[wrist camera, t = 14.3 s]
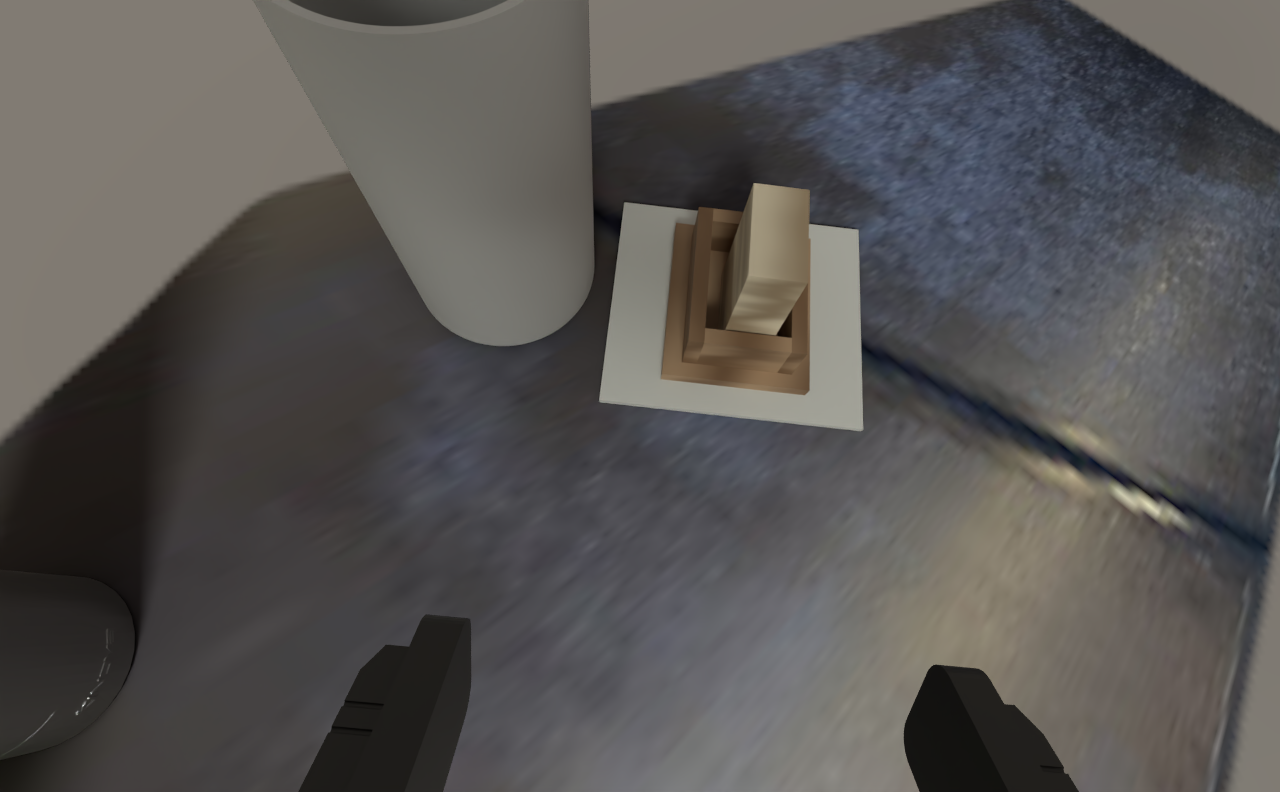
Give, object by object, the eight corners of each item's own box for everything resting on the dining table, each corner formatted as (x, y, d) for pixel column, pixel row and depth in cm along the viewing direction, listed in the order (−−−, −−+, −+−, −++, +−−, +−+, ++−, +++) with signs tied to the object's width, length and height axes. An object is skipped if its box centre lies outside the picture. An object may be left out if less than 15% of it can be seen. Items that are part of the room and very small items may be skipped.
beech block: (716, 350, 43) (748, 275, 33) (721, 274, 45) (753, 182, 35) (762, 356, 43) (807, 283, 33) (766, 279, 45) (809, 190, 35)
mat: (599, 402, 42) (599, 400, 42) (624, 205, 48) (624, 202, 47) (860, 431, 43) (862, 429, 42) (856, 232, 48) (858, 229, 48)
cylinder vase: (531, 172, 48) (464, -248, 25) (628, 289, 45) (657, -62, 22) (387, 253, 45) (155, -139, 22) (481, 384, 42) (331, 94, 19)
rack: (660, 379, 43) (667, 353, 39) (674, 230, 47) (681, 192, 43) (805, 395, 43) (827, 371, 39) (806, 246, 47) (826, 209, 43)
